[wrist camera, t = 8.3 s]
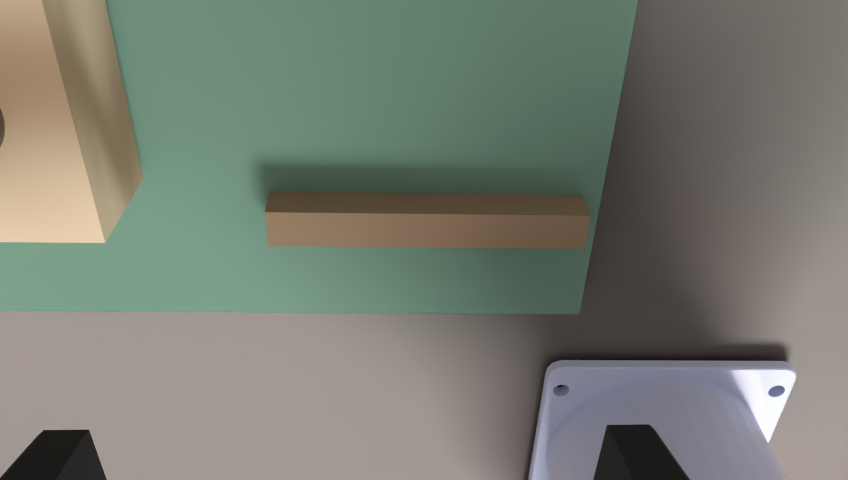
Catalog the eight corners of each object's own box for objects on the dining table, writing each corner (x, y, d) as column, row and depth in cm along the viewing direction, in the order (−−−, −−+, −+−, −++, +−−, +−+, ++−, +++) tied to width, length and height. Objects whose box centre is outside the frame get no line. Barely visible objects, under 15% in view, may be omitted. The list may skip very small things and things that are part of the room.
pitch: (573, 293, 22) (586, 337, 20) (-216, 287, 21) (-268, 333, 20) (685, -343, 14) (724, -354, 12) (-609, -389, 13) (-757, -407, 11)
